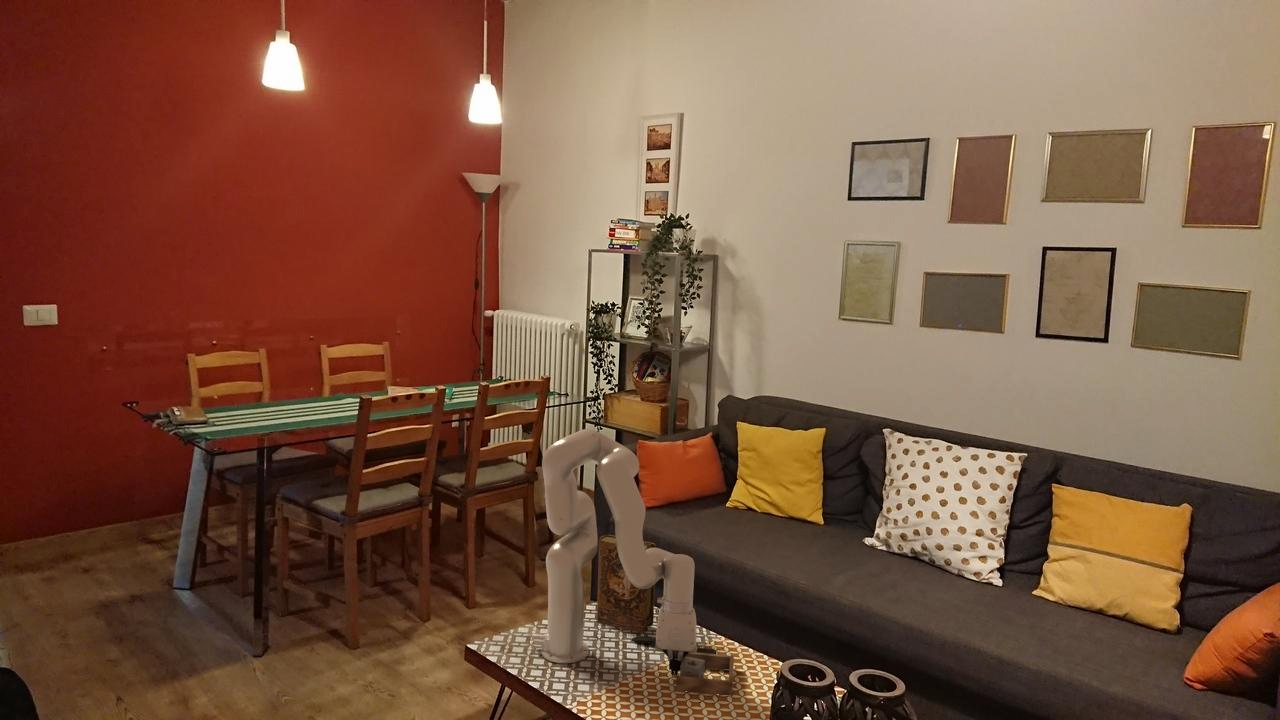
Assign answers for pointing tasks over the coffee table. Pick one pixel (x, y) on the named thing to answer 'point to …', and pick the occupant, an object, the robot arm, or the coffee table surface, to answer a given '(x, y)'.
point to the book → (621, 592)
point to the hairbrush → (653, 640)
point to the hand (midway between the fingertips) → (674, 672)
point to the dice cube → (692, 667)
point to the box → (703, 683)
